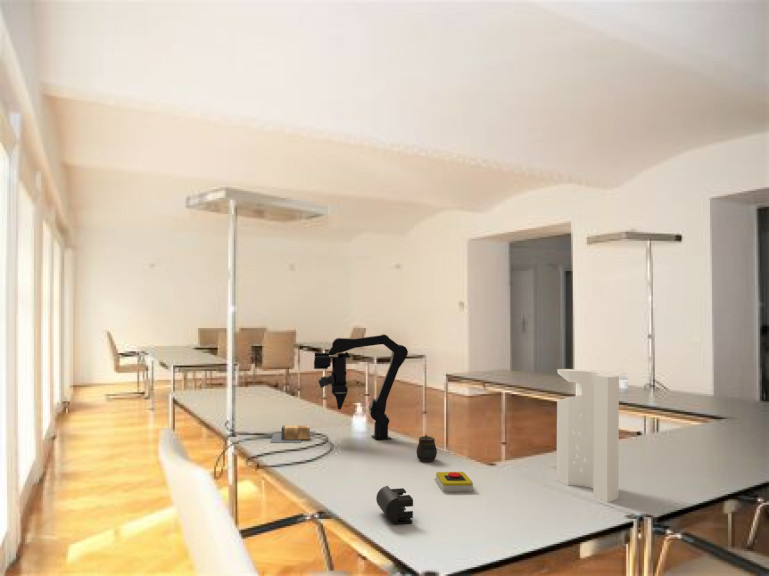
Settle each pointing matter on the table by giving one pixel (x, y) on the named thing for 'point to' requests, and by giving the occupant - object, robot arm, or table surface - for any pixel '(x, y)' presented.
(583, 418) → the white notched upright
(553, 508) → the table surface
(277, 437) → the slate mat
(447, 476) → the emergency button
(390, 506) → the end cap
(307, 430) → the oak block
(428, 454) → the dark lidded jar
